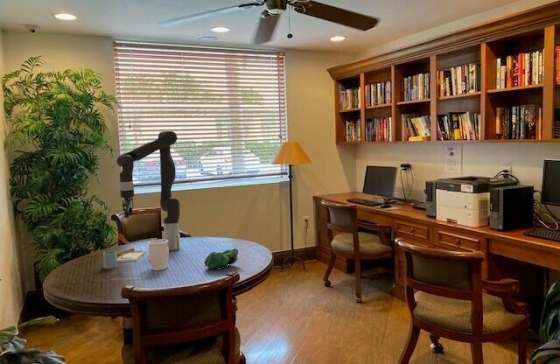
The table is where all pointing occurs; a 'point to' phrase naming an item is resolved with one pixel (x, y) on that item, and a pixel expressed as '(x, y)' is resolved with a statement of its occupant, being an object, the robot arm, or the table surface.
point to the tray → (131, 256)
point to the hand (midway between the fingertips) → (128, 216)
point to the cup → (110, 259)
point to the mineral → (221, 259)
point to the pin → (125, 251)
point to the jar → (158, 254)
